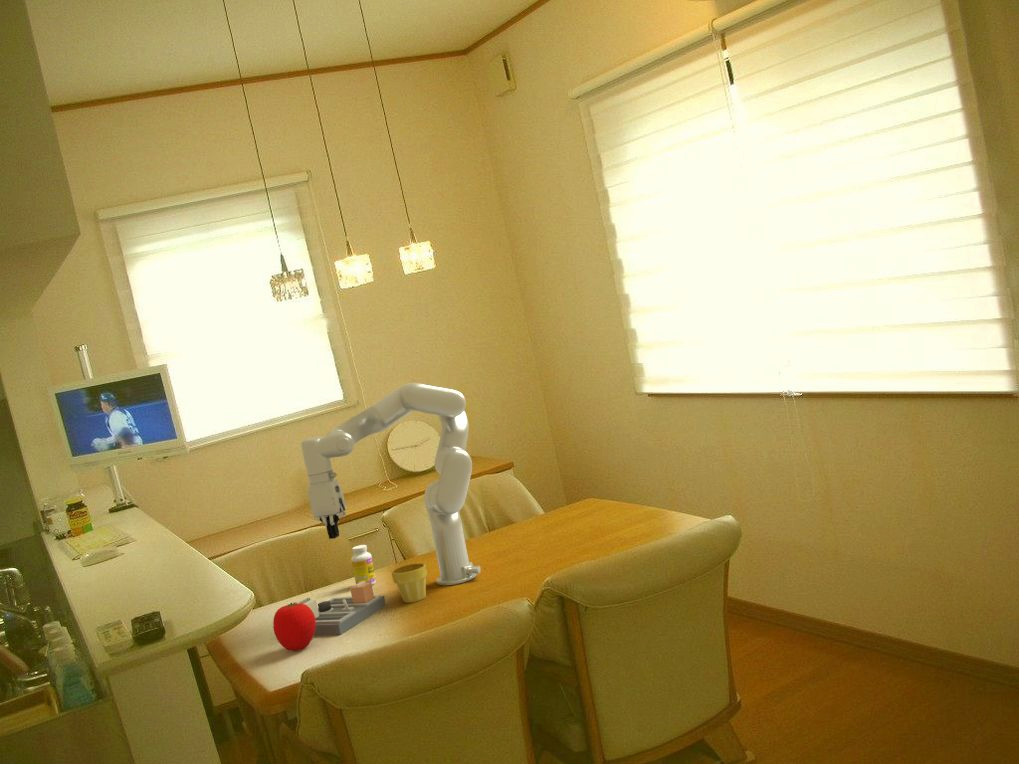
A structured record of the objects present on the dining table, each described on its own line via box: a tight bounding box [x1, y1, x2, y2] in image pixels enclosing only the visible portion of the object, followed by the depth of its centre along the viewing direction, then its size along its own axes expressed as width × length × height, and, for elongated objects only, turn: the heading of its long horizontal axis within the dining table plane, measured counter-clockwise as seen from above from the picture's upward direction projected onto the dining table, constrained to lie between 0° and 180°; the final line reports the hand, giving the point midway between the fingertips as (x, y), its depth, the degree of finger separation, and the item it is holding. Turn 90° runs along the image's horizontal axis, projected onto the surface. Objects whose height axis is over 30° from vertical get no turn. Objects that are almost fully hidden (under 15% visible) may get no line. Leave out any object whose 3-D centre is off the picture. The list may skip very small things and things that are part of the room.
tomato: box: [272, 602, 316, 652], centre depth 275 cm, size 11×11×13 cm
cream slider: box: [298, 597, 319, 618], centre depth 292 cm, size 4×4×6 cm
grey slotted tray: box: [313, 594, 387, 637], centre depth 296 cm, size 18×24×7 cm
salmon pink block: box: [350, 581, 375, 604], centre depth 300 cm, size 4×4×6 cm
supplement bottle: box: [350, 544, 377, 586], centre depth 333 cm, size 7×7×13 cm
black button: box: [317, 600, 331, 612], centre depth 298 cm, size 4×4×2 cm
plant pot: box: [391, 562, 428, 603], centre depth 304 cm, size 10×10×10 cm
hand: (334, 537), depth 305 cm, fingers closed
